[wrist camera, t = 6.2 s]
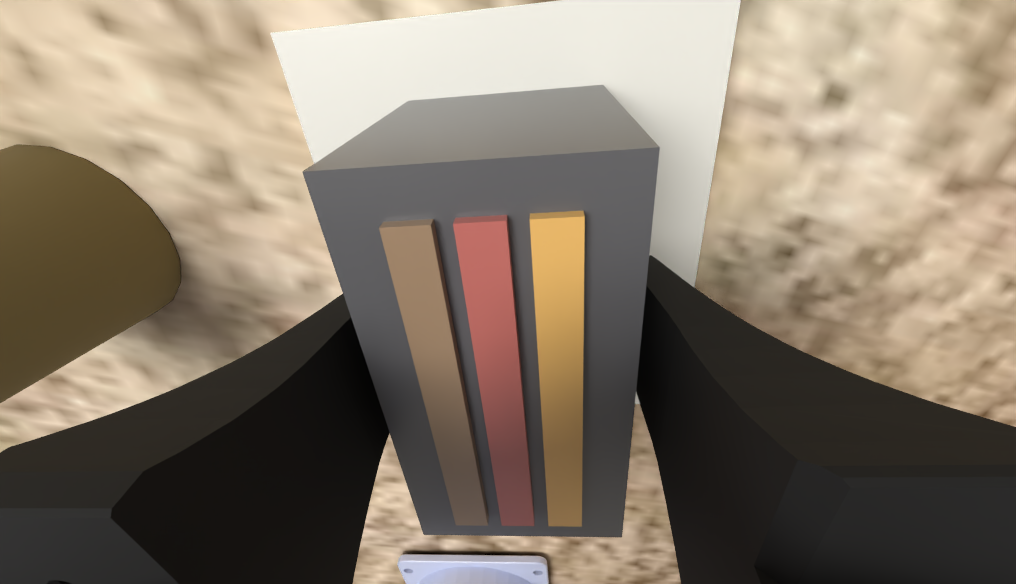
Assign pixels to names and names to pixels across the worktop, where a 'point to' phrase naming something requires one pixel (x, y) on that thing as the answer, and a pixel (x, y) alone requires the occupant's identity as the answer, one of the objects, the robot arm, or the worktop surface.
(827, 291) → the worktop surface
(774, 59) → the worktop surface
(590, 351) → the block
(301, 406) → the robot arm
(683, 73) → the header board
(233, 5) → the worktop surface
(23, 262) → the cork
